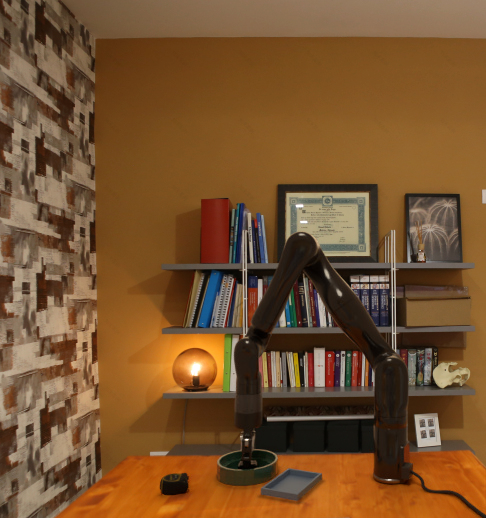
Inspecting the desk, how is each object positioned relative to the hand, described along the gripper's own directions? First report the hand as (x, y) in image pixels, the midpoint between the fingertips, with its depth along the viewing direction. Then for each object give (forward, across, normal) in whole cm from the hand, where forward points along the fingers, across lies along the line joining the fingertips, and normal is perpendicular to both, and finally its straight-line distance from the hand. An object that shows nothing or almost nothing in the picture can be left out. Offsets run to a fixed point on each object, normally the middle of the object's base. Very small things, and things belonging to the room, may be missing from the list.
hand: (247, 469), depth 135 cm
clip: (+1, 0, 0) cm, 1 cm away
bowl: (+2, 0, 0) cm, 2 cm away
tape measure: (+2, -8, +17) cm, 19 cm away
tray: (+2, -10, -12) cm, 16 cm away
